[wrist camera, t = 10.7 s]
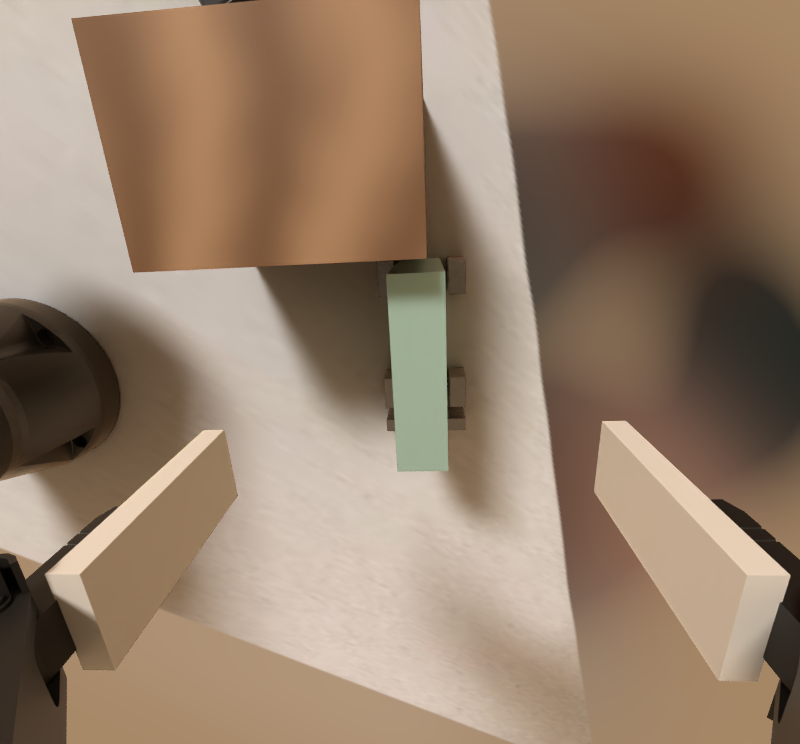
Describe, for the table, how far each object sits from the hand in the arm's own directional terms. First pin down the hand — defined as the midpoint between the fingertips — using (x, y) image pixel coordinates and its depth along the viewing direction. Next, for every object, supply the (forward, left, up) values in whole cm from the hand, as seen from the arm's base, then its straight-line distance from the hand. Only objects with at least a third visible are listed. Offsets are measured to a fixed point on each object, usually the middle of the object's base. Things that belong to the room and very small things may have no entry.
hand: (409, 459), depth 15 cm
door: (0, 0, -21) cm, 21 cm away
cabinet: (-6, +11, -21) cm, 24 cm away
